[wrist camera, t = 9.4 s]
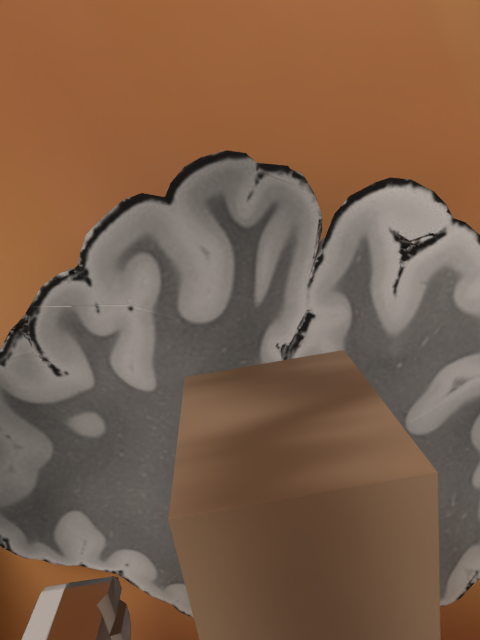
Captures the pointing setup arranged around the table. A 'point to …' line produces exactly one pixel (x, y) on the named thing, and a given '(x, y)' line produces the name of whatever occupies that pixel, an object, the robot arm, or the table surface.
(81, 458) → the brain slice
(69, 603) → the robot arm
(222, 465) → the walnut block
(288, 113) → the table surface
